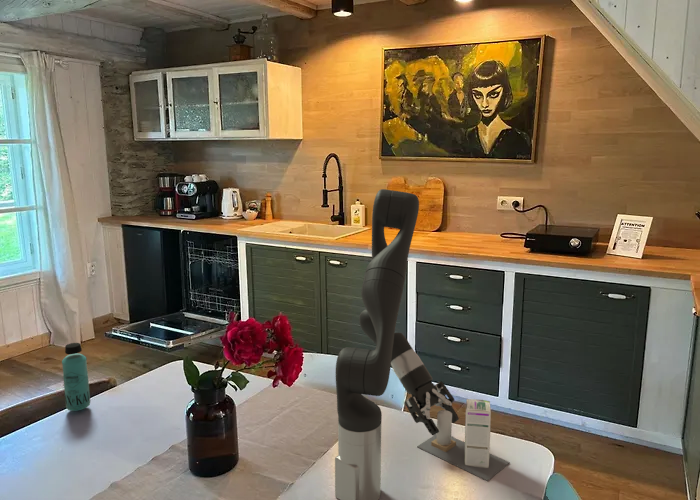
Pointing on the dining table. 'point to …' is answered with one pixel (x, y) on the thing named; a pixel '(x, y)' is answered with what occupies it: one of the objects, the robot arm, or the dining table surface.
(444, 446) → the candle tray
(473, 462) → the syrup box
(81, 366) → the beverage bottle
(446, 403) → the robot arm
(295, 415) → the dining table surface
